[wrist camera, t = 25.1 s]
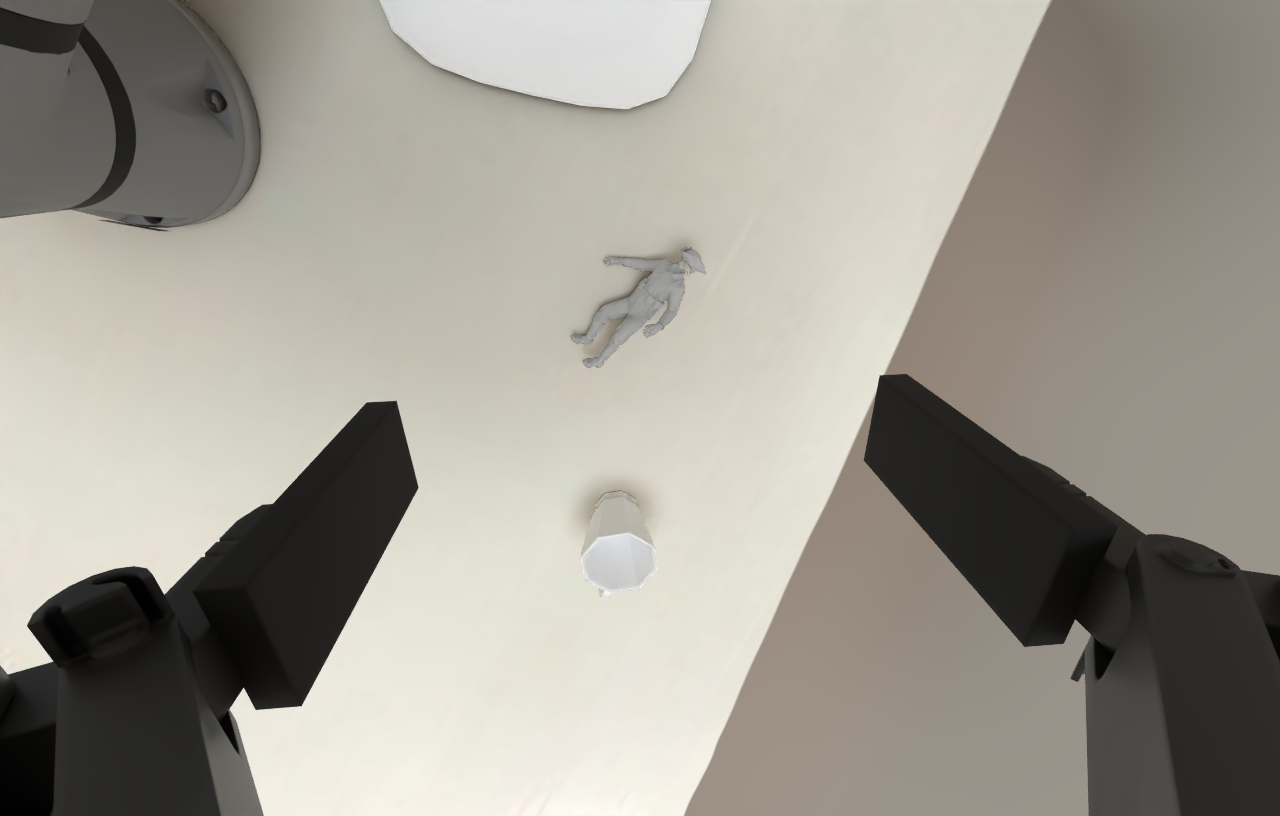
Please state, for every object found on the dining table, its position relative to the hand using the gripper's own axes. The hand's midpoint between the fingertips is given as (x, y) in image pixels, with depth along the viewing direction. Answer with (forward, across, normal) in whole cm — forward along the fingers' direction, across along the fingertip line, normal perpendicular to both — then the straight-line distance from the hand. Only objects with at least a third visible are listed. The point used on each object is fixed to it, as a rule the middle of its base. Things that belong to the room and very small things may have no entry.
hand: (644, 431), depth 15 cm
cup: (+31, -1, -27) cm, 41 cm away
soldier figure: (+31, +1, -4) cm, 31 cm away
